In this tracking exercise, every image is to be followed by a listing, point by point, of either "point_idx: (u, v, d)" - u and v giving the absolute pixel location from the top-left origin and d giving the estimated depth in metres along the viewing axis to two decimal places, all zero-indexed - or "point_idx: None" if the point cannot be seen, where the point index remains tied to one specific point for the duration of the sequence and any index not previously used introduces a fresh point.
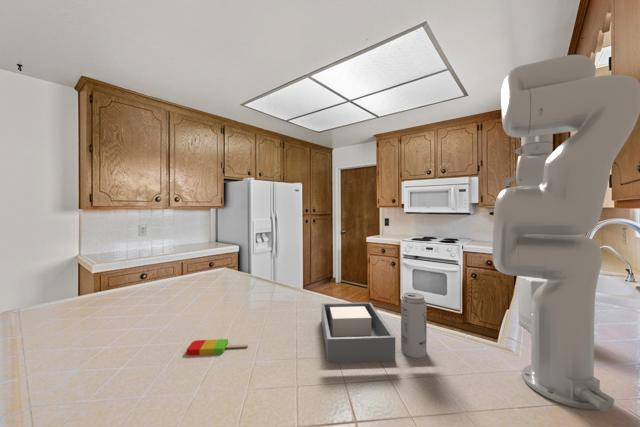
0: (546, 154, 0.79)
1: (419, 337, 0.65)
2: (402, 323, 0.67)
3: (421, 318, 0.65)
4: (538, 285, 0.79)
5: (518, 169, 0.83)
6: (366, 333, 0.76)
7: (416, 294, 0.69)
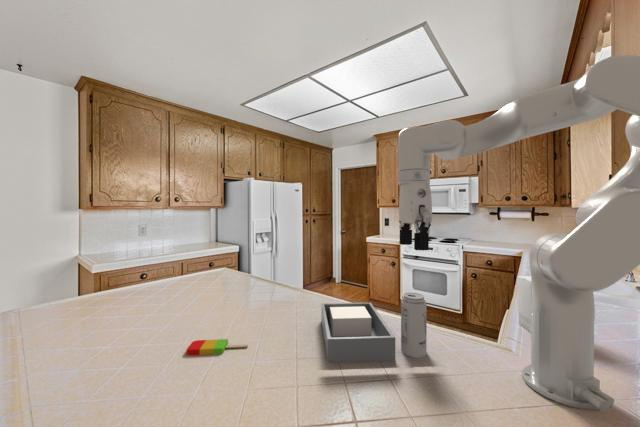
0: None
1: (419, 337, 0.65)
2: (402, 323, 0.67)
3: (421, 318, 0.65)
4: None
5: (431, 200, 0.63)
6: (366, 333, 0.76)
7: (416, 294, 0.69)
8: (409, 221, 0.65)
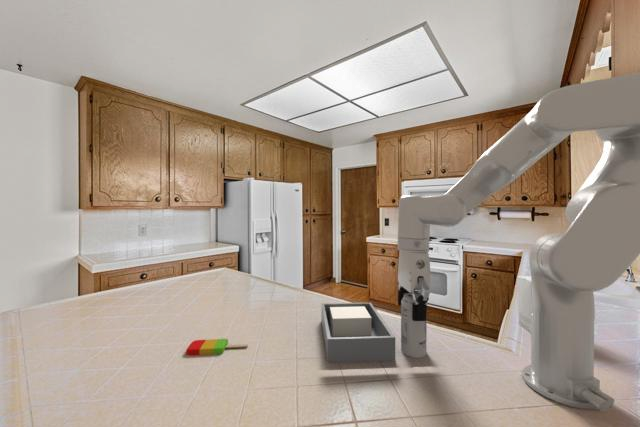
0: None
1: (419, 337, 0.65)
2: (402, 323, 0.67)
3: None
4: None
5: (429, 271, 0.63)
6: (366, 333, 0.76)
7: None
8: (407, 289, 0.65)
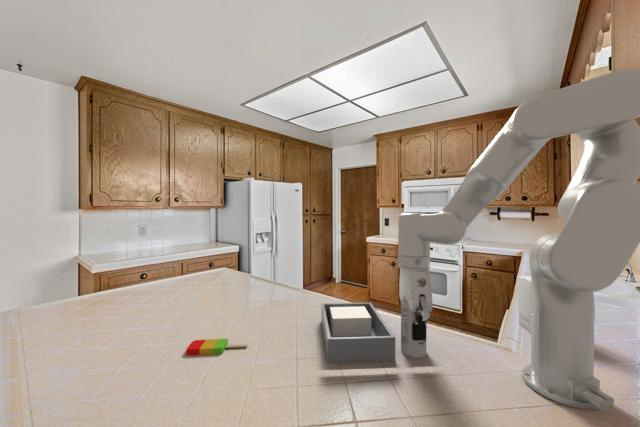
0: None
1: None
2: (402, 323, 0.67)
3: None
4: None
5: (431, 289, 0.63)
6: (366, 333, 0.76)
7: None
8: (409, 308, 0.65)
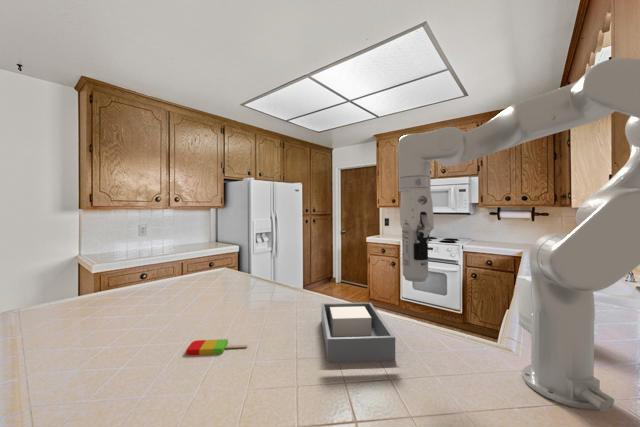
0: None
1: None
2: (403, 247, 0.67)
3: None
4: None
5: (432, 207, 0.63)
6: (366, 333, 0.76)
7: None
8: (411, 228, 0.65)
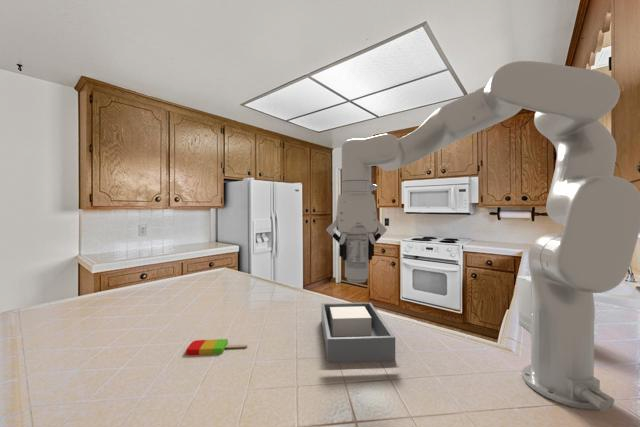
0: None
1: None
2: (359, 250, 0.66)
3: None
4: None
5: None
6: (366, 333, 0.76)
7: None
8: (368, 230, 0.67)
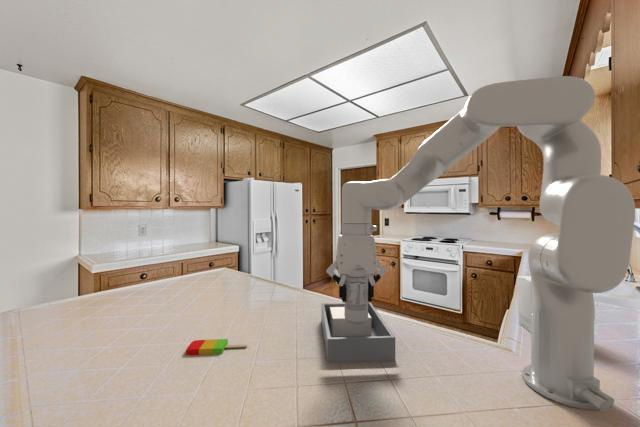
0: None
1: None
2: (359, 293, 0.67)
3: None
4: None
5: None
6: (366, 333, 0.76)
7: None
8: (368, 273, 0.68)
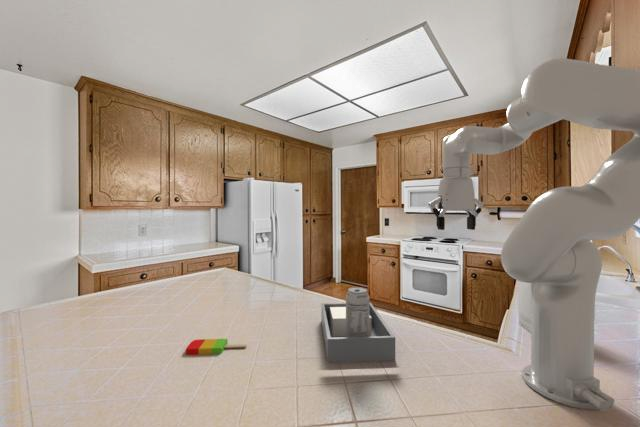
0: None
1: None
2: (361, 320, 0.67)
3: None
4: None
5: None
6: None
7: (352, 288, 0.71)
8: (468, 208, 0.83)
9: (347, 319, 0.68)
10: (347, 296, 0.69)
